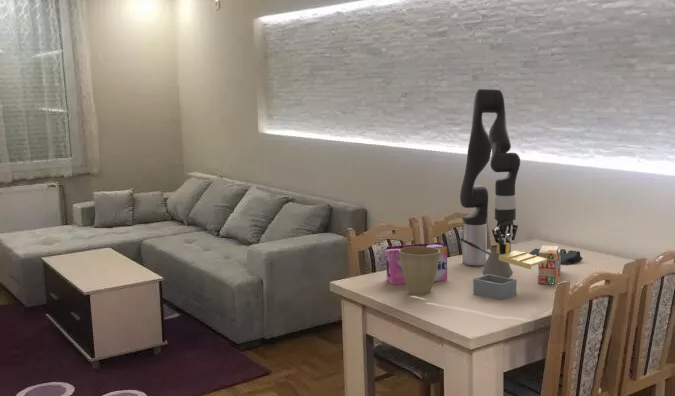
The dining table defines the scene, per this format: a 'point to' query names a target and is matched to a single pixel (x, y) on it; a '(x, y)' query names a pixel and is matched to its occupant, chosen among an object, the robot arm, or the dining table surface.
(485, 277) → the tub
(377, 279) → the dining table surface
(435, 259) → the plant pot
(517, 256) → the lid
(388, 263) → the gum box
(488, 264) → the coffee pot
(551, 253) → the stack of blocks
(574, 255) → the dark crumpled cloth
